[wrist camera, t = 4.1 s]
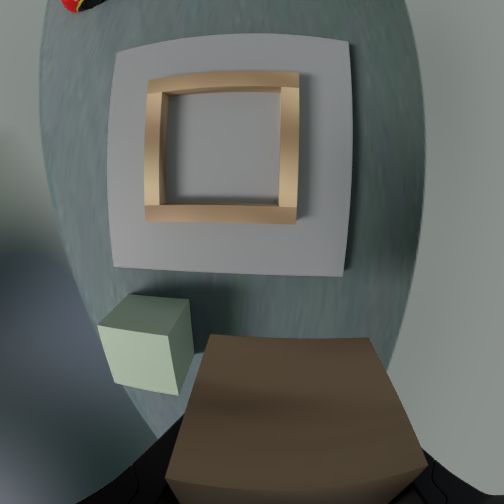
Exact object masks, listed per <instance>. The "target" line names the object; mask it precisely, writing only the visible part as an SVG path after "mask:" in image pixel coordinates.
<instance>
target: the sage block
mask: <svg viewBox="0 0 504 504" xmlns="http://www.w3.org/2000/svg"><path fill="white" fill-rule="evenodd" d="M97 327H98V330H99V334H100V338H101V341H102V345H103V348H104V351H105V355H106V358H107V361H108V364H109V367H110V370H111V373H112V376H113V379H114V381H115V383H118V384H122V385H126V386H131V387H135V388H140V389H145V390H150V391H155V392H160V393H166V394H172V395H179V394H180V391H181V388H182V386H183V383H184V381H185V378H186V375H187V373H188V370H189V367H190V365H191V362H192V359H193V357H194V345H193V336H192V326H191V315H190V304H189V299H178V298H166V297H154V296H143V295H132V294H128V295H127V296H126V297H125V298H124V299H123V300H122V301H121V302H120V303H119V304H118V305H117V306H116V307H115V308H114V309H113V310H112V311H111V312H110V313H109V314H108V315H107V316H106V317H105V318H104V319H103V320H102V321H101V322H100V323H99V324H98V325H97Z"/></svg>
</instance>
